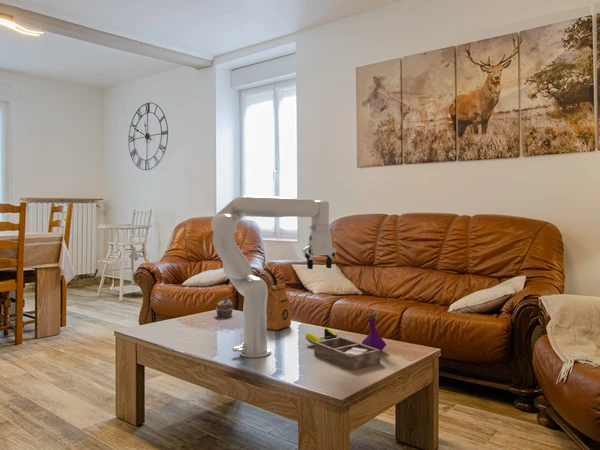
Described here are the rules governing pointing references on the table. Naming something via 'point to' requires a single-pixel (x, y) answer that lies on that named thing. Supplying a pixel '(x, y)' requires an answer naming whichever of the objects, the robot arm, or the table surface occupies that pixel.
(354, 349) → the upper offcut
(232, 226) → the robot arm
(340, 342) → the divided wooden tray
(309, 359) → the table surface
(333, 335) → the gaming controller
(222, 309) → the cupcake
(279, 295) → the coffee package
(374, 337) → the perfume bottle
